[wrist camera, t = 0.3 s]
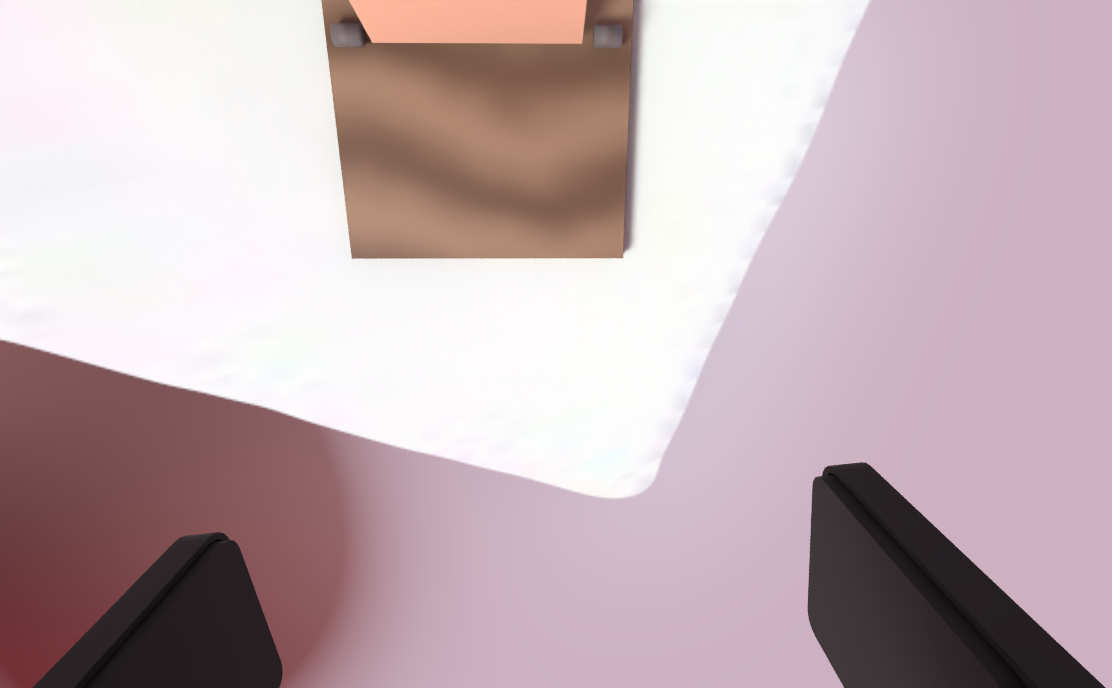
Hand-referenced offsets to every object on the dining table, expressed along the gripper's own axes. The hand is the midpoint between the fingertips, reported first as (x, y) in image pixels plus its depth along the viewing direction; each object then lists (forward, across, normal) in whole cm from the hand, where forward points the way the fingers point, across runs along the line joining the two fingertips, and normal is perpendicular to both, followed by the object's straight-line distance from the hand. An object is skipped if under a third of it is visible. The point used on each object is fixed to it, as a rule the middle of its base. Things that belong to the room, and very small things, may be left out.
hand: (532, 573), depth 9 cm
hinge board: (+30, +2, -12) cm, 33 cm away
